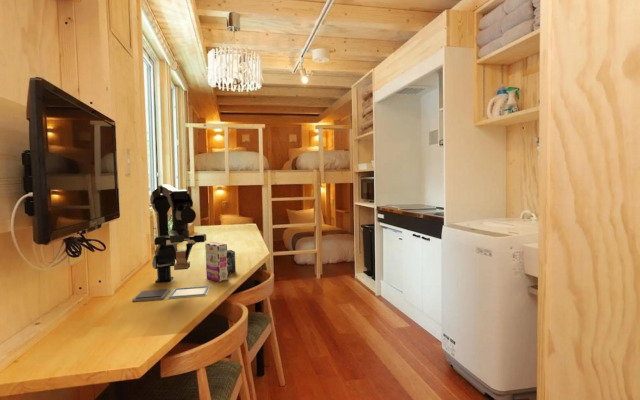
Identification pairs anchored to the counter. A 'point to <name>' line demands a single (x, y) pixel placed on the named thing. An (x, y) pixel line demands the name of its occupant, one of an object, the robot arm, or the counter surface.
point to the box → (231, 261)
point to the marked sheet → (189, 292)
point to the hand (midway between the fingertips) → (182, 260)
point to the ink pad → (151, 295)
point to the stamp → (181, 260)
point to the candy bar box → (216, 261)
